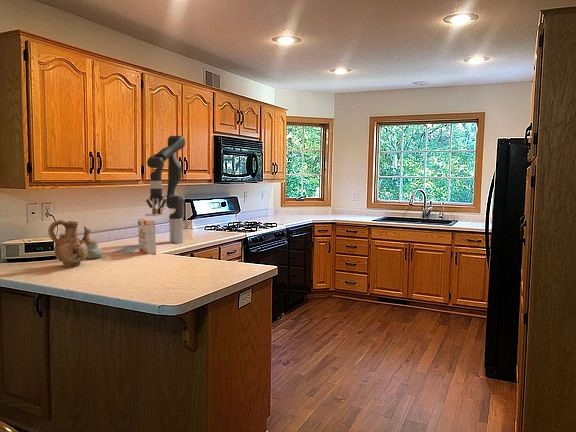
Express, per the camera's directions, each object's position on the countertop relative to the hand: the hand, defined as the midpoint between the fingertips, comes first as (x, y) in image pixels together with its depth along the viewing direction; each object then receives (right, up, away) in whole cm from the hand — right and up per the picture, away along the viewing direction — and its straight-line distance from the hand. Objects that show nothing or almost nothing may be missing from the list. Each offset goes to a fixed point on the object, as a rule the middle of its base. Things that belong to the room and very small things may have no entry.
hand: (156, 214), depth 309 cm
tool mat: (-15, -23, -7) cm, 29 cm away
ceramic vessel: (-28, -28, -57) cm, 69 cm away
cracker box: (-1, -24, -18) cm, 30 cm away
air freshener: (-28, -26, -35) cm, 51 cm away
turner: (0, -1, -2) cm, 3 cm away
